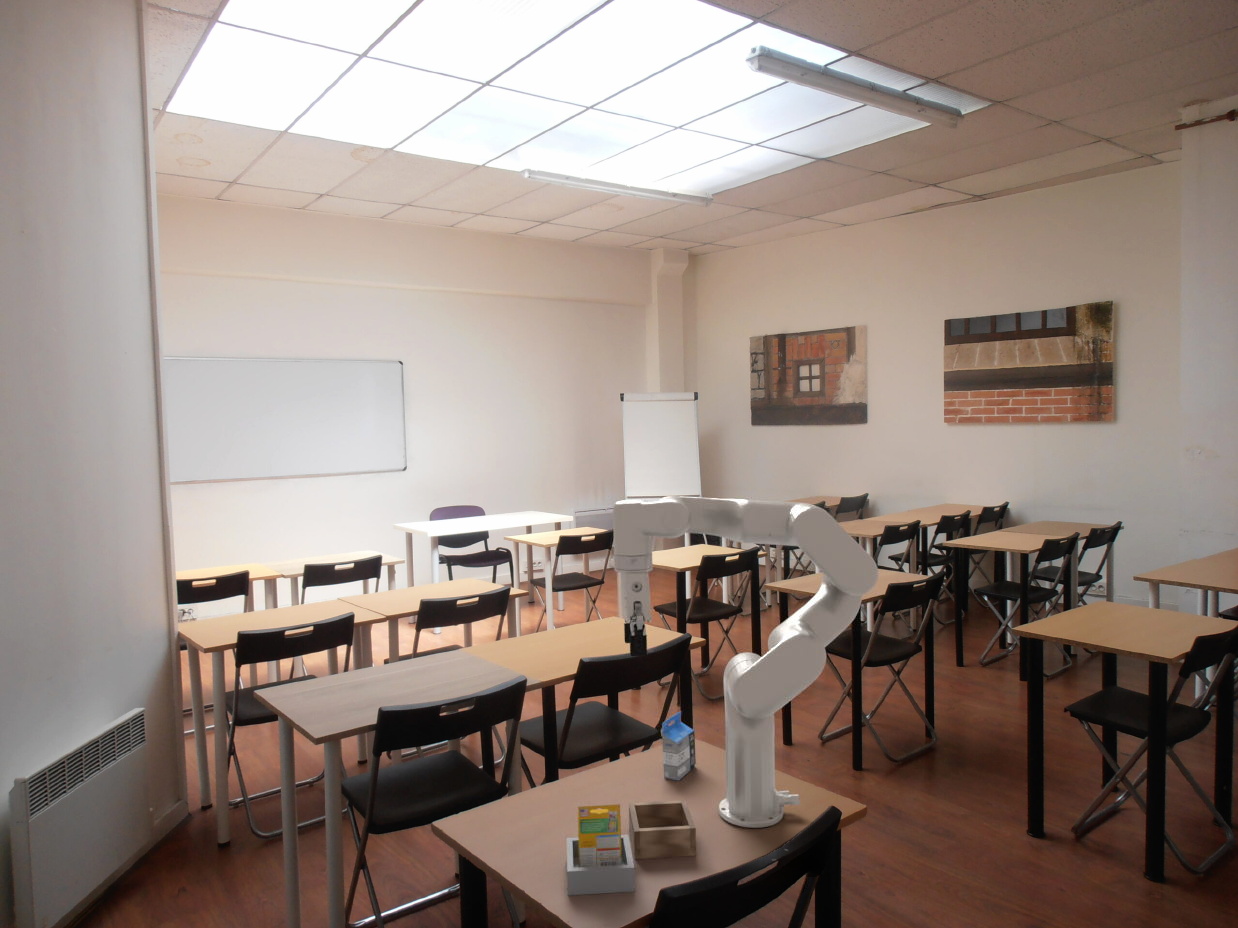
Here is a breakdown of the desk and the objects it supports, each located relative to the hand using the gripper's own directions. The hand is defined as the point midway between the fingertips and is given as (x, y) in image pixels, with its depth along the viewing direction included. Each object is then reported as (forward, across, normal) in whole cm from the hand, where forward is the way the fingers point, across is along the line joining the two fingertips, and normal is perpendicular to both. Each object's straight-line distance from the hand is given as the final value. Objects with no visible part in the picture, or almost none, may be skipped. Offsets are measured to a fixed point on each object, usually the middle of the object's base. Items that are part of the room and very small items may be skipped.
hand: (635, 648), depth 158 cm
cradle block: (+33, -21, +10) cm, 40 cm away
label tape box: (+33, +18, -11) cm, 40 cm away
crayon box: (+32, -21, +9) cm, 40 cm away
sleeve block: (+33, -12, -3) cm, 35 cm away
